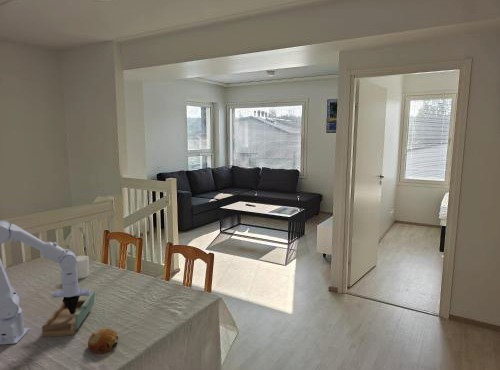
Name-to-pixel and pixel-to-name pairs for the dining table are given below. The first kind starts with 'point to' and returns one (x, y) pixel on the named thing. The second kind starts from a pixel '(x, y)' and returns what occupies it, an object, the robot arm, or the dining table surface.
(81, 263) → the white cup
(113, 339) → the bread roll
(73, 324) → the tray
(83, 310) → the panel
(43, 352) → the dining table surface
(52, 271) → the dining table surface
